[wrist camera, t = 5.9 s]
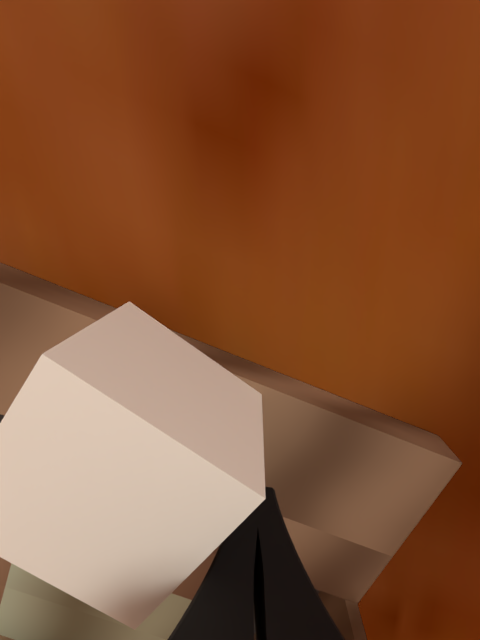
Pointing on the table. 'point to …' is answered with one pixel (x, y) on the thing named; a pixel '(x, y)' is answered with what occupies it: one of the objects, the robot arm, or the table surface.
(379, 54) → the table surface
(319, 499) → the trap tray
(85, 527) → the cream block
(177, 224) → the table surface
